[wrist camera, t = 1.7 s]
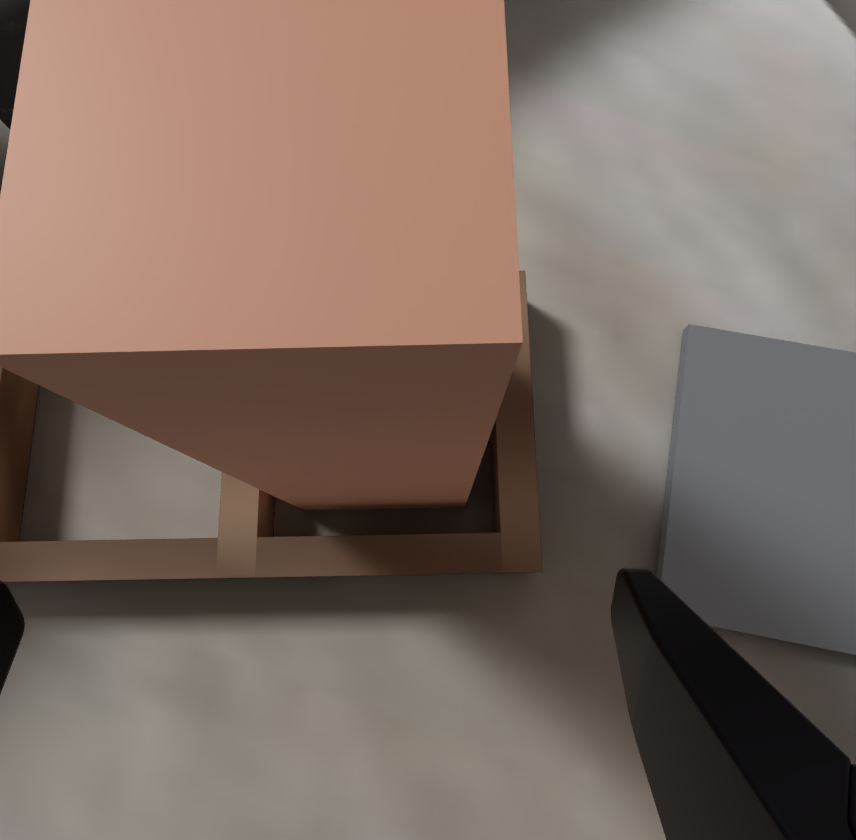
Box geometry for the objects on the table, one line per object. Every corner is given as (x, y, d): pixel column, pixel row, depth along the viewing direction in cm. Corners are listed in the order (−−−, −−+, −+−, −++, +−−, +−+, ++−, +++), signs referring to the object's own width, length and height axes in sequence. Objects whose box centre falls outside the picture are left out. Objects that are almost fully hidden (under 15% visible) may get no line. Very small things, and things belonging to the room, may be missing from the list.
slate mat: (969, 677, 20) (985, 680, 20) (651, 614, 21) (657, 615, 20) (969, 379, 23) (983, 374, 22) (683, 330, 23) (689, 324, 23)
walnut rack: (533, 572, 21) (542, 572, 19) (-22, 582, 22) (-68, 582, 20) (518, 295, 24) (525, 270, 22) (16, 307, 24) (-21, 284, 22)
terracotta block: (464, 507, 22) (522, 342, 6) (303, 510, 22) (-25, 355, 6) (459, 353, 23) (499, -93, 8) (307, 357, 23) (42, -78, 8)
